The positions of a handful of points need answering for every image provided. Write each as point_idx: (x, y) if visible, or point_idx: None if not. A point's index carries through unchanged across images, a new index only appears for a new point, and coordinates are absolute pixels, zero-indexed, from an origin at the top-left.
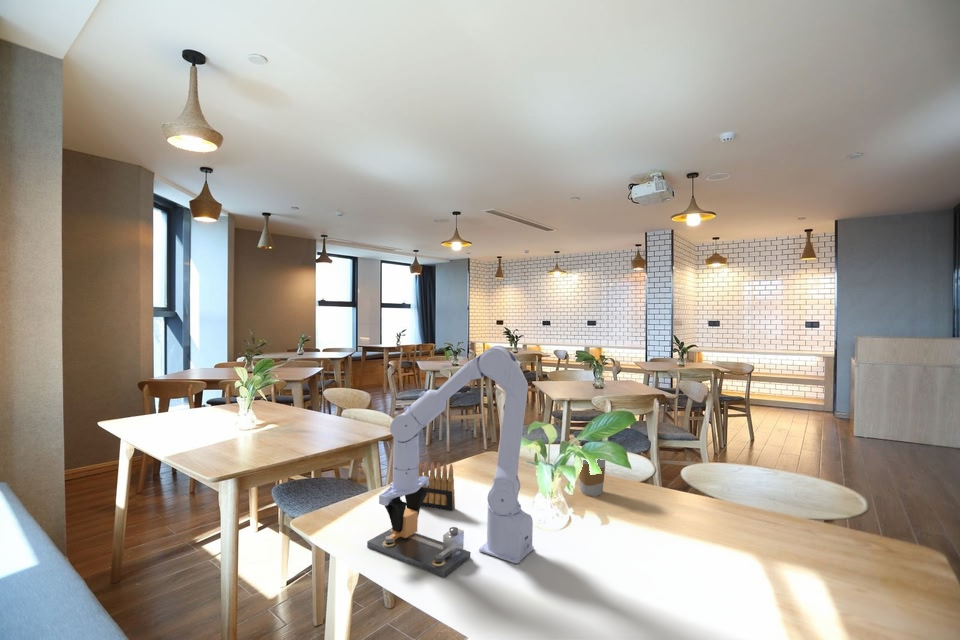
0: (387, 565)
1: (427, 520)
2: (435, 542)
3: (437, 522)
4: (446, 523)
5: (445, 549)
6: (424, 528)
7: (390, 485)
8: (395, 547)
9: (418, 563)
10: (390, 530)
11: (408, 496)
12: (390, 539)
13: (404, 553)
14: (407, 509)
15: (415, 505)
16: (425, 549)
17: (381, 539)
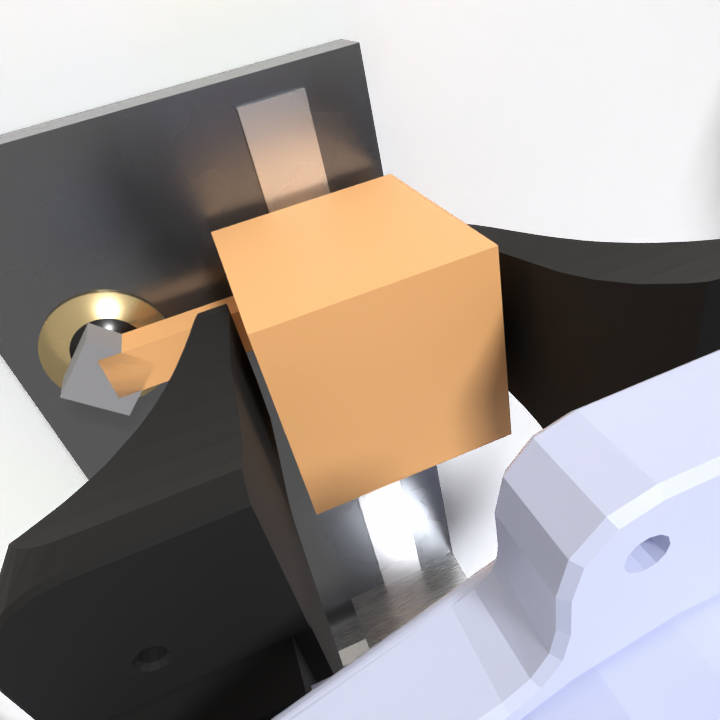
0: (3, 516)
1: (667, 58)
2: (410, 483)
3: (673, 155)
4: (687, 215)
5: (364, 638)
6: (544, 179)
7: (519, 521)
8: (133, 431)
9: None
10: (246, 119)
11: (635, 361)
12: (108, 407)
13: None
14: (475, 332)
15: (558, 417)
16: (306, 530)
17: (67, 240)
